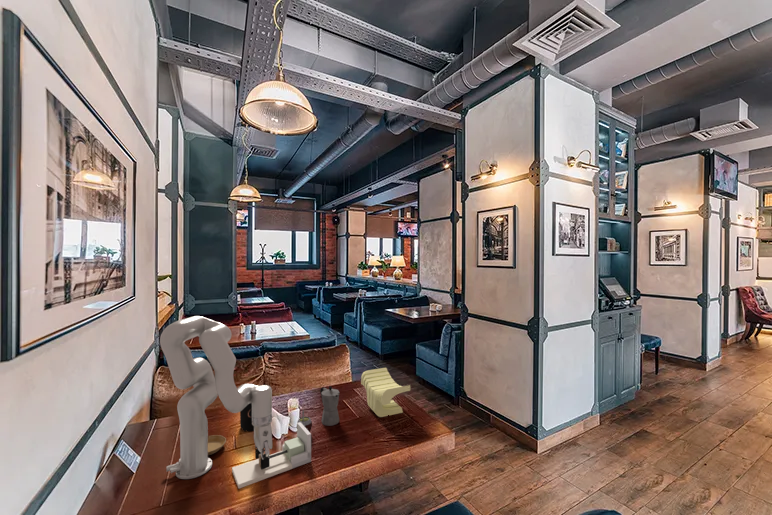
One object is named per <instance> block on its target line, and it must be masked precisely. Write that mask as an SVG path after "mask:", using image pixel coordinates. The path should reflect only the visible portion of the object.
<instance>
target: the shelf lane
mask: <svg viewBox="0 0 772 515" xmlns="http://www.w3.org/2000/svg"><path fill="white" fill-rule="evenodd" d="M296 435H297V436H296V438H297V437H299V439H300V440H301V441H302V442H303V444H304V452H303V453H300V454H298V455H295V456H292V457H291V461H289V459H288V458H287V456H286V455H285V454H282V455H279V456H276V457H273V458H270V459H269V463H270V466H269V467H268V468H265V469H262V470H261V467H260V466H259V458H258V459H256V458H255V459H254V460H250V461H248V462H245V463H242V464H240V465H239V464H238V465H235V466H233V467H231V472H232V475H233V478H234V481H235V483H236V485H237V488H238V489H242V488H244V487H247V486H250V485H253V484H254V483H258V482H260V481H264V480H265V479H268V478H271V477H274V476H276V475H278V474H282V473H284V472H287V471H290V470H292V469H295V468H298V467H300V466H303V465H305V464H309V463H311V462H312V433H311V431H310V432H309V431H308V430H307V429H306V428H305V427H304V425H303V424H302V423H301V422H299V423H297V422H296ZM282 451H284V443H283V444H282V450H280V451H277V452H275V453H272V454H270V455H269V456H271V455H273V454H276V453H279V452H282Z"/></svg>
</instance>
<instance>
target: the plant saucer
mask: <svg viewBox="0 0 772 515" xmlns="http://www.w3.org/2000/svg"><path fill="white" fill-rule="evenodd" d="M226 442H227V438H226V437H225V436H223V435H221V434H219V435H218V434H213V435H208V456H210V455H213V454H215V453H217V452H218V451H220V450H221V449H222V448H223V446H225V444H226Z"/></svg>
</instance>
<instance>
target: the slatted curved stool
mask: <svg viewBox="0 0 772 515" xmlns="http://www.w3.org/2000/svg"><path fill="white" fill-rule="evenodd" d="M360 379H361V380H360V383H361V385H363V387H364V389H365V391H366V401H367V406H368V407H369V408H370V410H372V412H374V413H375V415H376V416H377V417H378V418H383V417H388V415H389V416H392V415H398V414H403V412H404V411H403V408H402V406H400V405H399V404H398V403H397V402H396V401H394V399H393V398H394V397H395V396H397V395H398V394H402V393H405V392H410V391H411V384H409V385H403V386H402V385H399V384H398V383H397V382H396V381H395V380H394V379H393V378H392V376H391V374H390V372H389V370H388V368H387V367H382V368H375V369H374V368H373V369H368V370H367V369H366V370H365V371H363V372H362V374H361V377H360Z"/></svg>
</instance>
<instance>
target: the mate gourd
mask: <svg viewBox="0 0 772 515" xmlns="http://www.w3.org/2000/svg"><path fill="white" fill-rule="evenodd" d="M301 414H302V416H301V417H300V418H298V420H297V422H296V424H297V423H299V422H301V423H302V424H303V425H304V427H305V428H306V429H307V430H308V431H309V432H310V433H311V431H312V427H313V422H312V419H311V417H309V416H305V409H302V413H301Z"/></svg>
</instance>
